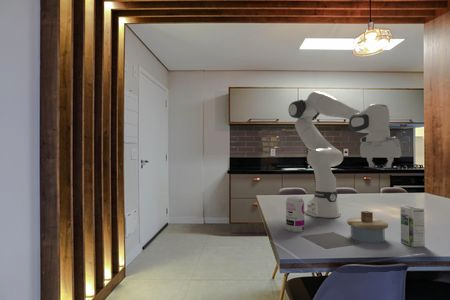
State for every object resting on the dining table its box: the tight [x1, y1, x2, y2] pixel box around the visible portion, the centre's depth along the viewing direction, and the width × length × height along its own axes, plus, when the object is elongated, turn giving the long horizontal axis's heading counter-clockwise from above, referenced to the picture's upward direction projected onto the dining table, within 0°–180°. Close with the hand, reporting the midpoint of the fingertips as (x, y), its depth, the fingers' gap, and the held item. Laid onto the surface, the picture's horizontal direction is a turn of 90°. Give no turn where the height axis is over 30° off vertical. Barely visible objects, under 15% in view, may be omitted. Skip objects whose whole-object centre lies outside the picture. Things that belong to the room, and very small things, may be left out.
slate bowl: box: [350, 225, 386, 244], centre depth 113 cm, size 12×12×6 cm
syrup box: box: [399, 205, 426, 248], centre depth 105 cm, size 6×6×14 cm
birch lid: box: [346, 210, 389, 229], centre depth 113 cm, size 15×15×5 cm
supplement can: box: [285, 196, 306, 233], centre depth 127 cm, size 8×8×15 cm
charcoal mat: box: [300, 231, 363, 250], centre depth 111 cm, size 17×17×1 cm
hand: (379, 167), depth 128 cm, fingers open, 8 cm apart
